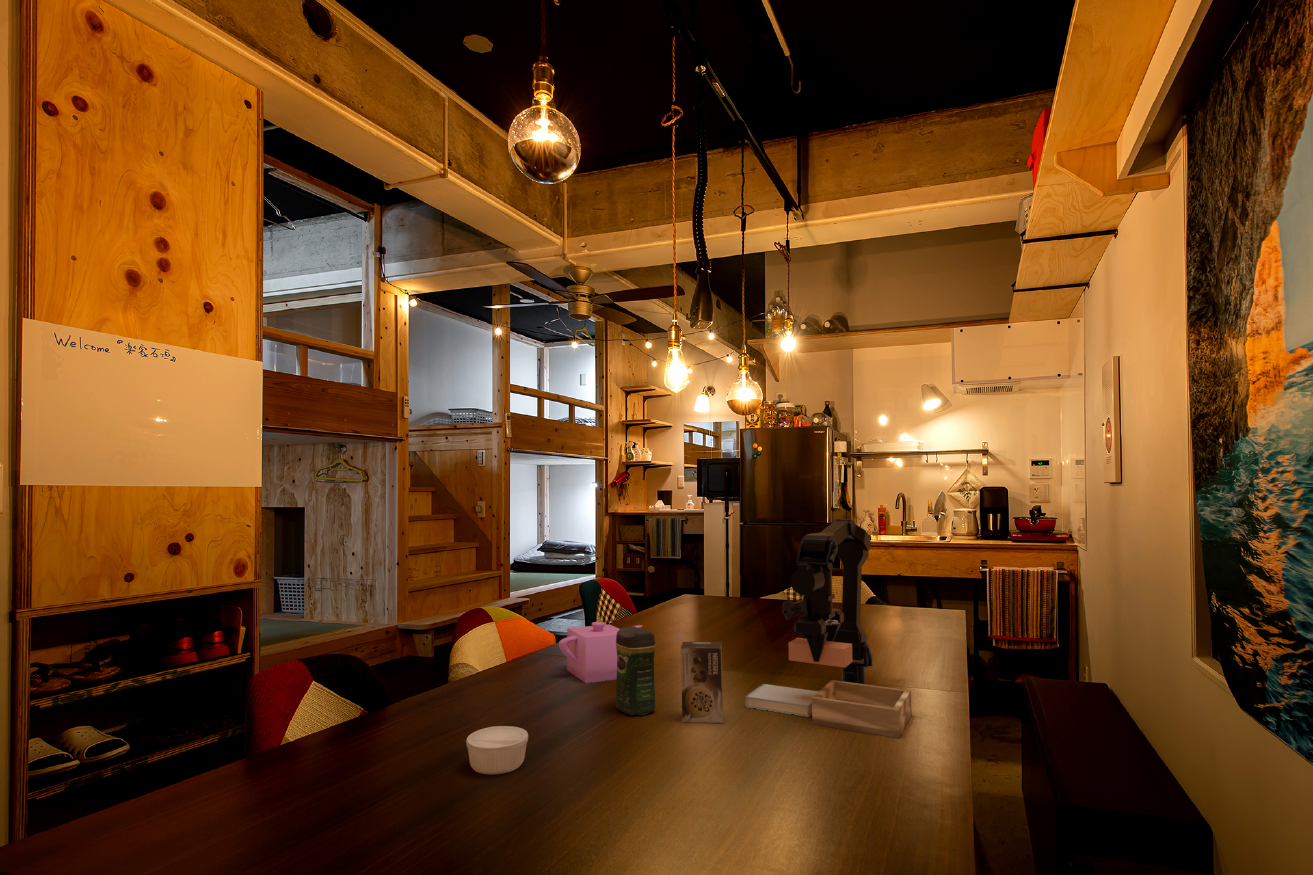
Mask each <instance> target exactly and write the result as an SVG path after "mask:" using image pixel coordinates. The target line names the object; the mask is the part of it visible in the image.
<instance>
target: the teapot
mask: <svg viewBox="0 0 1313 875" xmlns="http://www.w3.org/2000/svg"><path fill="white" fill-rule="evenodd" d="M634 626H635V627H637V628H640V629H642V627H643V626H644V625H642V624H641V625H640V624H638V625H634ZM620 629H621V628H618V627H616V626H614V625H611V624H606V623H605V622H603V621H595V622H594V621H593V622H591V625H589V626H578V627H576V626H575V627H567V629H566V631H567V632H566V637H564V638H562V639H560V640H559V642H558V648H559V649H560V651H561V653H563V655H565V656H566V671H567V672H568V673H570V674H572V675H573V676H574V677H576V678H577V679H579V680H581V681H582V682H583V683H584V684H589V683H590V684H591V682H592V683H598V682H606V680H607V681H614V680H615V681H616V680H617V649H616V636H617V632H618V631H619V630H620Z"/></svg>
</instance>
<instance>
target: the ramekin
mask: <svg viewBox="0 0 1313 875" xmlns="http://www.w3.org/2000/svg"><path fill="white" fill-rule="evenodd" d="M528 741H529V734H528V731H527V730H525V729H524V728H521V727H518V726H512V725H509V726H508V725H500V726H499V725H497V726H489V727H485V728H482V729H478V730H476V731H474V732H471V734H469V735H468V736H467V738H466V740H465V744H466V747H467V752H468V757H469V758H468V760H469V764H470V767H471V768H472V770H474V771H475V772H476V773H479V774H483V775H501V774H507V773H510V772H513V771H516V770H517V769H519V768H520V766H522V764H523V762H524V761H525V757H526V749H527V743H528Z"/></svg>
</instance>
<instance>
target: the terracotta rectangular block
mask: <svg viewBox="0 0 1313 875" xmlns="http://www.w3.org/2000/svg"><path fill="white" fill-rule="evenodd" d="M788 661H792V662H800V663H807V664H813V665H814V664H815V665H821V666H822V665H823V666H831V667H839V668H842V667H847V666H848V665H849V664H850V663H851V662H852V644H849V643H840V642H831V641H825V644H824V648H823V651H822V654H821V657H820V660H819V662H814V660H813V657H812V653H811V650H810V647H809V644H808V641H807V639H806V638H803V637H796V638H795V639H792V640H791V641H789V642H788Z"/></svg>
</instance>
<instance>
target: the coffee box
mask: <svg viewBox="0 0 1313 875" xmlns="http://www.w3.org/2000/svg"><path fill="white" fill-rule="evenodd" d="M680 646H681V647H680V665H681V667H680V670H681V673H680V674H681V676H680V677H681V722H682V723H707V724H708V723H710V724H711V723H713V724H714V723H715V724H716V723H720V724H722V723H723V722H724V704H723V701H724V698H723V697H724V696H723V663H722V662H723V660H722V658H723V657H722V656H723V654H722V641H682V644H681V645H680Z"/></svg>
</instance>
